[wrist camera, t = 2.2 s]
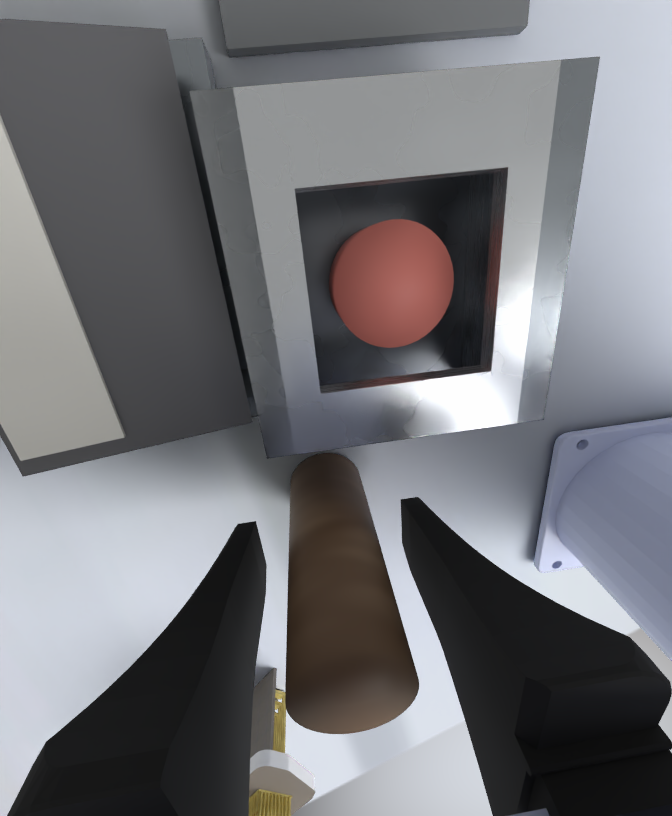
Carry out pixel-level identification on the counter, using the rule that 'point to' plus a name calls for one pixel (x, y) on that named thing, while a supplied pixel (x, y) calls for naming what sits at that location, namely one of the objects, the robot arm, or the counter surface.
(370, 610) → the brown cylinder
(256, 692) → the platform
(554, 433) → the counter surface
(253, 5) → the mat
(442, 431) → the silver metal box
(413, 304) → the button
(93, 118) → the rocker
